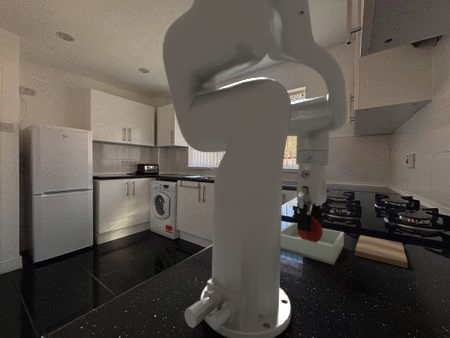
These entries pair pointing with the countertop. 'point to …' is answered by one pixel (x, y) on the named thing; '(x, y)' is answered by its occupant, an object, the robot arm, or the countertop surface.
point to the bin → (313, 244)
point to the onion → (312, 232)
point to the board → (381, 250)
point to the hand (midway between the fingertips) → (310, 226)
